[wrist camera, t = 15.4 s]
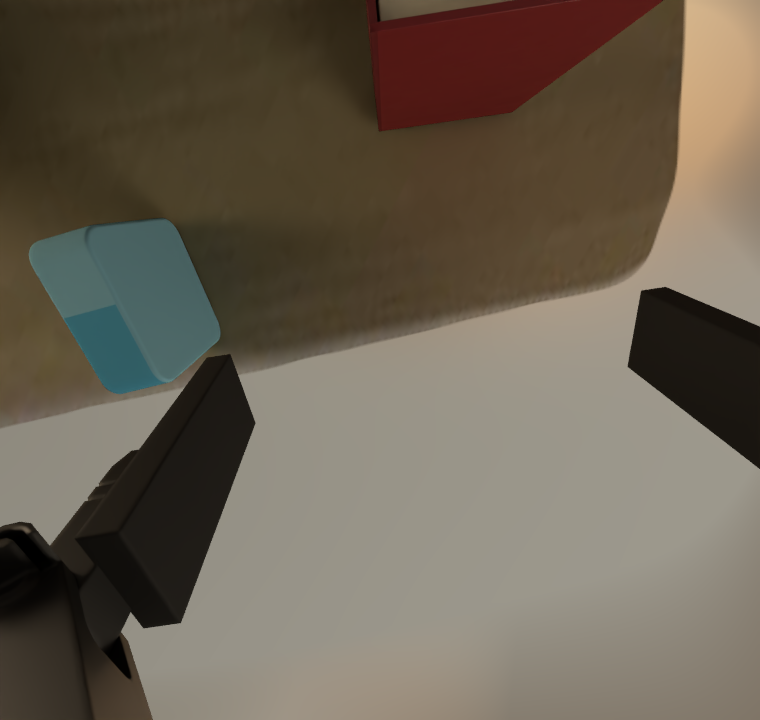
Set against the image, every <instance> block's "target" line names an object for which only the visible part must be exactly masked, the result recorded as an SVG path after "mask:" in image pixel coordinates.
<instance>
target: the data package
mask: <svg viewBox="0 0 760 720" xmlns="http://www.w3.org/2000/svg"><path fill="white" fill-rule="evenodd" d="M29 258H30V263H31V265H32V267H33V269H34V271H35V273H36V274H37V276H38V278H39V279H40V281H41V283H42V284H43V286H44V288H45V289H46V291H47V293H48V294H49V296H50V298H51V299H52V301H53V303H54V304H55V306H56V308H57V309H58V311H59V313H60V314H61V316H62V318H63V319H64V321H65V323H66V324H67V326H68V328H69V329H70V331H71V333H72V334H73V336H74V338H75V339H76V341H77V343H78V344H79V346H80V348H81V349H82V351H83V353H84V354H85V356H86V358H87V359H88V361H89V363H90V364H91V366H92V368H93V369H94V371H95V373H96V374H97V376H98V378H99V379H100V381H101V382H102V384H103V385H104V386H105V388H107V389H108V390H109V391H111V392H113V393H116V394H123V393H127V392H131V391H136V390H140V389H144V388H148V387H152V386H156V385H160V384H164V383H168V382H171V381H173V380H174V379H176V378H177V377H178V376H179V375H180V374H181V373H182V372H183V371H185V370H186V369H187V368H188V367H189V366H190V365H191V364H193V363H194V362H195V361H196V360H197V359H198V358H199V357H200V356H202V355H203V354H204V353H205V352H206V351H207V350H208V349H210V348H211V347H212V346H213V345H214V344H215V343H216V342H217V341H218V340H219V338H220V326H219V323H218V321H217V318H216V316H215V314H214V312H213V309H212V307H211V305H210V302H209V300H208V298H207V296H206V293H205V291H204V289H203V287H202V284H201V282H200V280H199V277H198V275H197V273H196V271H195V268H194V266H193V264H192V262H191V259H190V257H189V255H188V253H187V250H186V248H185V246H184V243H183V241H182V239H181V237H180V234H179V232H178V231H177V229H176V228H175V226H174V225H173V224H172V223H171V222H170V221H169V220H167V219H165V218H154V219H145V220H135V221H125V222H116V223H106V224H97V225H90V226H87V227H83V228H80V229H77V230H73V231H70V232H67V233H63V234H60V235H57V236H53V237H50V238H47V239H43V240H40V241H37V242H35V243H34V244H33V245H32V246H31V248H30V251H29Z"/></svg>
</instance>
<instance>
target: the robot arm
mask: <svg viewBox="0 0 760 720" xmlns="http://www.w3.org/2000/svg"><path fill="white" fill-rule="evenodd" d="M628 367H629V368H630V369H631V370H633V371H634V372H635V373H637V374H638V375H639V376H640V377H642V378H643V379H644V380H645V381H647V382H648V383H649V384H651V385H652V386H653V387H655V388H656V389H657V390H658V391H660V392H661V393H662V394H664V395H665V396H666V397H667V398H669V399H670V400H671V401H673V402H674V403H675V404H676V405H678V406H679V407H680V408H682V409H683V410H684V411H685V412H687V413H688V414H689V415H691V416H692V417H693V418H695V419H696V420H697V421H698V422H700V423H701V424H702V425H704V426H705V427H706V428H708V429H709V430H710V431H711V432H713V433H714V434H715V435H717V436H718V437H719V438H720V439H722V440H723V441H724V442H726V443H727V444H728V445H730V446H731V447H732V448H733V449H735V450H736V451H737V452H739V453H740V454H741V455H743V456H744V457H745V458H746V459H748V460H749V461H750V462H752V463H753V464H754V465H755V466H757V467H758V468H759V469H760V327H759V326H757V325H755V324H752V323H750V322H748V321H745V320H743V319H741V318H738V317H736V316H733V315H731V314H729V313H726V312H724V311H722V310H719V309H717V308H714V307H712V306H710V305H707V304H705V303H702V302H700V301H698V300H695V299H693V298H690V297H688V296H686V295H683V294H681V293H679V292H676V291H674V290H672V289H669V288H667V287H662V288H656V289H649V290H643V291H641V295H640V300H639V306H638V312H637V317H636V323H635V329H634V334H633V339H632V345H631V350H630V356H629V362H628ZM254 425H255V421H254V418H253V415H252V412H251V410H250V407H249V404H248V401H247V399H246V396H245V393H244V390H243V388H242V385H241V382H240V379H239V377H238V374H237V371H236V368H235V366H234V363H233V360H232V357H231V355H230V354H228V355H221V356H215V357H208V358H206V360H205V361H204V362H203V364H202V365H201V366H200V368H199V369H198V370H197V372H196V373H195V374H194V376H193V377H192V379H191V380H190V381H189V383H188V384H187V385H186V387H185V388H184V389H183V391H182V392H181V394H180V395H179V396H178V398H177V399H176V400H175V402H174V403H173V404H172V406H171V407H170V409H169V410H168V411H167V413H166V414H165V415H164V417H163V418H162V419H161V421H160V422H159V423H158V425H157V426H156V427H155V429H154V430H153V432H152V433H151V434H150V436H149V437H148V438H147V440H146V441H145V443H144V444H143V445H142V446H141V448H140V449H139V450H134V451H131V452H130V453H128V454H127V455H126V456H125V457H123V458H122V459H121V460H120V461H118V462H117V463H116V464H115V465H113V466H112V468H111V469H110V470H109V471H108V472H107V474H106V475H105V476H104V478H103V479H102V480H101V481H100V483H99V487H96V488H95V489H94V490H93V492H92V493H91V494H90V496H89V497H88V501H85V502H84V503H83V504H82V506H81V507H80V508H79V509H78V511H77V512H76V513H75V515H74V516H73V517H72V519H71V520H70V521H69V523H68V524H67V525H66V526H65V528H64V529H63V530H62V531H61V533H60V534H59V535H58V536H57V538H56V539H55V540H54V541H53V543H52V544H51V545H50V546H49V545H48V544H47V542H46V541H45V540H44V538H43V537H42V536H41V535H40V534H39V532H38V531H37V530H36V529H35V528H34V526H33V525H32V524H31V523H25V522H17V523H13V524H9V525H4V526H2V527H0V720H153V719H152V715H151V712H150V709H149V706H148V703H147V700H146V697H145V693H144V690H143V687H142V684H141V681H140V678H139V675H138V671H137V669H136V665H135V662H134V659H133V656H132V652H131V649H130V646H129V643H128V641H127V639H126V638H125V637H124V635H123V634H122V633H121V630H122V628H123V626H124V624H125V622H126V620H127V618H128V616H129V614H130V612H131V613H132V614H133V615H134V616H135V618H136V619H137V620H138V622H139V623H140V624H141V626H142V627H143V628H149V627H156V626H163V625H170V624H177V623H181V621H182V618H183V616H184V613H185V610H186V607H187V605H188V602H189V599H190V597H191V594H192V591H193V589H194V586H195V583H196V581H197V578H198V576H199V573H200V570H201V567H202V565H203V562H204V559H205V557H206V554H207V551H208V549H209V546H210V543H211V541H212V538H213V535H214V533H215V530H216V527H217V525H218V522H219V519H220V517H221V514H222V511H223V509H224V506H225V503H226V501H227V498H228V495H229V492H230V490H231V487H232V484H233V481H234V479H235V476H236V473H237V471H238V468H239V466H240V463H241V460H242V457H243V455H244V452H245V450H246V447H247V444H248V441H249V439H250V436H251V434H252V431H253V428H254Z"/></svg>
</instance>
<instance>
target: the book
mask: <svg viewBox="0 0 760 720" xmlns="http://www.w3.org/2000/svg"><path fill="white" fill-rule="evenodd" d="M662 1H663V0H366V9H367V20H368V30H369V41H370V51H371V61H372V72H373V82H374V92H375V101H376V110H377V119H378V128H379V131H385V130H392V129H399V128H406V127H413V126H420V125H427V124H434V123H441V122H448V121H455V120H462V119H469V118H476V117H483V116H490V115H497V114H503V113H510V112H513V111H514V110H515V109H517V108H518V107H519V106H521V105H522V104H524V103H525V102H526V101H528V100H529V99H530V98H532V97H533V96H534V95H536V94H537V93H538V92H540V91H541V90H543V89H544V88H545V87H547V86H548V85H549V84H551V83H552V82H553V81H555V80H556V79H557V78H559V77H560V76H562V75H563V74H564V73H566V72H567V71H568V70H570V69H571V68H572V67H574V66H575V65H576V64H578V63H579V62H581V61H582V60H583V59H585V58H586V57H587V56H589V55H590V54H591V53H593V52H594V51H595V50H597V49H598V48H600V47H601V46H602V45H604V44H605V43H606V42H608V41H609V40H610V39H612V38H613V37H614V36H616V35H617V34H618V33H620V32H621V31H623V30H624V29H625V28H627V27H628V26H629V25H631V24H632V23H633V22H635V21H636V20H637V19H639V18H640V17H642V16H643V15H644V14H646V13H647V12H648V11H650V10H651V9H652V8H654V7H655V6H656V5H658V4H659V3H661V2H662Z"/></svg>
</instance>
